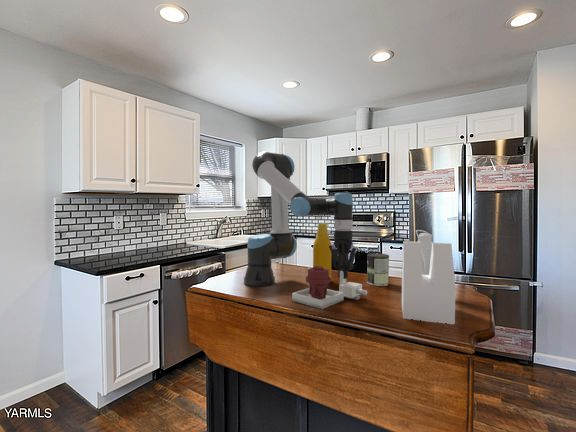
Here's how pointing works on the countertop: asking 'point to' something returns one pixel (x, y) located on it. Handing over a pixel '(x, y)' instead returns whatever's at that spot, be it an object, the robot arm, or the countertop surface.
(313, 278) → the mechanical component
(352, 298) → the track
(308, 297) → the tray
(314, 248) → the beer bottle
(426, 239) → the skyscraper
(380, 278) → the coffee can
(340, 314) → the countertop surface
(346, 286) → the block
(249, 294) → the countertop surface
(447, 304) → the white notched block
